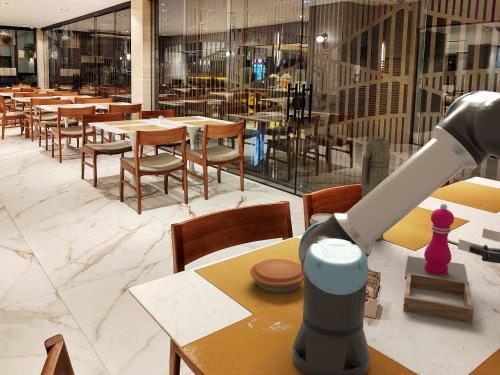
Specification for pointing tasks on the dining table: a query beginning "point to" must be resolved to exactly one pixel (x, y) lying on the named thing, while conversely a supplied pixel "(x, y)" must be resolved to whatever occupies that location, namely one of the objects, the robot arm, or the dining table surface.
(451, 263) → the grey square plate
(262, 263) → the pie
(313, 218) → the disposable coffee cup
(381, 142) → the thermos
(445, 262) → the pepper mill
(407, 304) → the walnut tray
